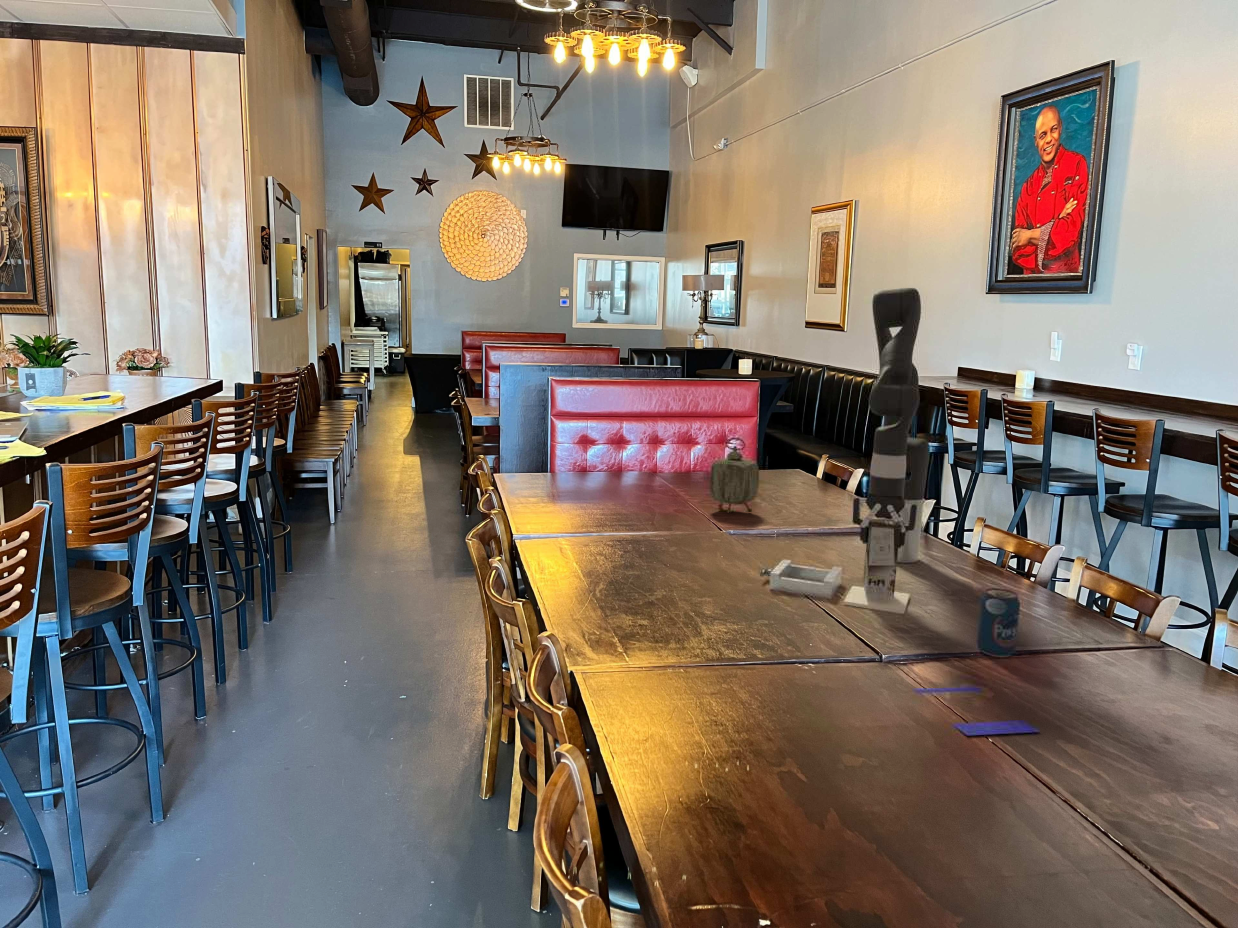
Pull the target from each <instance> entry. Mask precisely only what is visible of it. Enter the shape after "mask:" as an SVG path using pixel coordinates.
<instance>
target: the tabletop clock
mask: <svg viewBox="0 0 1238 928" xmlns="http://www.w3.org/2000/svg"><path fill="white" fill-rule="evenodd" d="M731 440H737V441H740V442H741V443H742V444H743V446H742V447H741V448H740V447H739V448H738V446H736V445H734V446H733V447H731V446H729V445H728V442H729V441H731ZM725 446H726V448H727V449H730V450H731V451H730V452H728V453H727V455H726V457H724V458H720V459H716V460H714V461H713V462H712V464H711V468H710V474H709V491H710V497H711V499H712V500H714V501H717V502H720V503H718V504H717V507H718V508H719V509H722V508H723V507H724V505H723V503H725V504H728V508H726V513H727V512H731V513H732V505H744V506H745V507H746V511H747V513H748V512H751V513H752V512H753V509H752V508H750V507H749V504H748V503H749V502H752V501H754V500H755V499H756V497H757V494H758V489H759V482H760V481H759V480H760V478H759V477H760V476H759V475H760V473H759V466H758V463H757V462H756V461H754V460H752V459H748V458H745V457H743V455H742V453H741V452H740V451H742V450H744V448H746V443H745V441H744V440H743V439H742V438H739V437H729V438H728V439H726V441H725Z"/></svg>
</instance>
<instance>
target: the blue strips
mask: <svg viewBox="0 0 1238 928" xmlns="http://www.w3.org/2000/svg"><path fill="white" fill-rule="evenodd" d="M911 690H912V691H914V693H916V694H927V693H928V694H929V693H930V694H931V693H932V694H933V693H957V692H983V691H984V690H983V689H982V688H981V687H979V686H969V687H968V686H965V687H963V686H962V687H960V686H959V687H939V688H938V687H937V688H933V687H932V688H913V689H911ZM951 725H953V726H954V727H955V728H956V729H958V730H959V731H961V732H962V733H963V734H965V735H966V736H981V735H982V736H983V735H1005V734H1025V733H1040V732H1041V731H1040V730H1039V729H1037V728H1036V727H1034V726H1032V725H1031V724H1028V722H1025V721H1024V720H1008V721H1007V720H1006V721H1005V720H1004V721H989V722H988V721H986V722H968V723H967V722H965V723H952V724H951Z"/></svg>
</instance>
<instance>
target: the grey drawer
mask: <svg viewBox="0 0 1238 928" xmlns="http://www.w3.org/2000/svg"><path fill="white" fill-rule="evenodd" d="M842 569H843V568H842V567H841V566H833V567H832V568H831V569H825V568H819V567H812V566H806V565H797V564H792V560H791V559H782V560H781V561H780V562H779V564H777V565H776V566H775V567H774V568H773V569H770V568H769V567H765V568H764V569H763V570H762V571H761V572H759V577H765V576H767V577H769V589H768V590H771V589H774V590H773V591H778V590H780V591H779V592H784V591H786V592H785V593H792V594H797V595H803V596H804V595H805V596H811V597H818V598H824V599H832V598H833V596H834V595H835V593H836V591H837V590H838V588H839V587H840V585H841V583H842Z"/></svg>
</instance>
